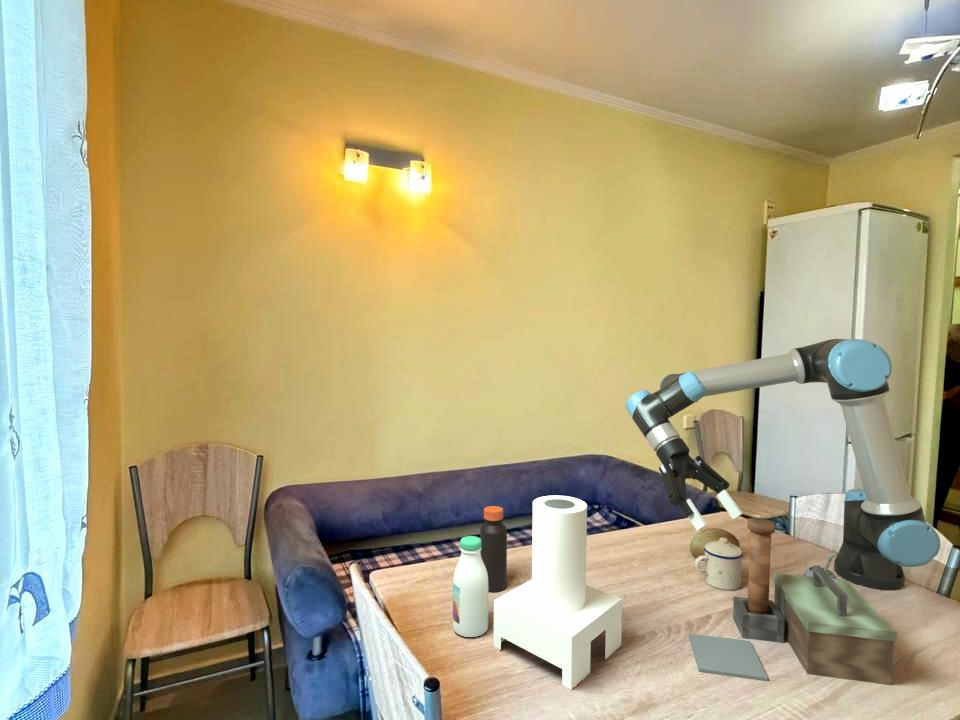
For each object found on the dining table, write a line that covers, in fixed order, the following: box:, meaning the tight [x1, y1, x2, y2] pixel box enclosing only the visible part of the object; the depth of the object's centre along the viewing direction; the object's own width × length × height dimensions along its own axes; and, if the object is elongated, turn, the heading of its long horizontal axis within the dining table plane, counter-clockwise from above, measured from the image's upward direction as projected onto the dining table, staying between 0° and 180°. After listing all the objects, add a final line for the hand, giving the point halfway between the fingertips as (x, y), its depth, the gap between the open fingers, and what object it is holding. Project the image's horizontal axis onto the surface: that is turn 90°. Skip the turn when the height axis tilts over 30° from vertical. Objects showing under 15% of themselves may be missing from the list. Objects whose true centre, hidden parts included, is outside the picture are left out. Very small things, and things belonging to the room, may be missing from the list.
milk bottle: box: [452, 535, 489, 638], centre depth 115 cm, size 8×8×20 cm
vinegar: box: [479, 505, 508, 593], centre depth 134 cm, size 7×7×20 cm
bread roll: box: [689, 527, 741, 559], centre depth 152 cm, size 10×15×8 cm, turn 102°
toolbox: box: [732, 564, 898, 686], centre depth 109 cm, size 23×21×14 cm
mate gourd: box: [803, 552, 840, 579], centre depth 126 cm, size 8×8×15 cm
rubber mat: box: [688, 633, 769, 682], centre depth 106 cm, size 12×12×1 cm
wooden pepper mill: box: [746, 517, 776, 615], centre depth 115 cm, size 5×5×24 cm
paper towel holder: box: [493, 494, 623, 691], centre depth 108 cm, size 19×19×30 cm
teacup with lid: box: [694, 538, 744, 591], centre depth 136 cm, size 12×9×12 cm
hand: (720, 522), depth 122 cm, fingers open, 13 cm apart
